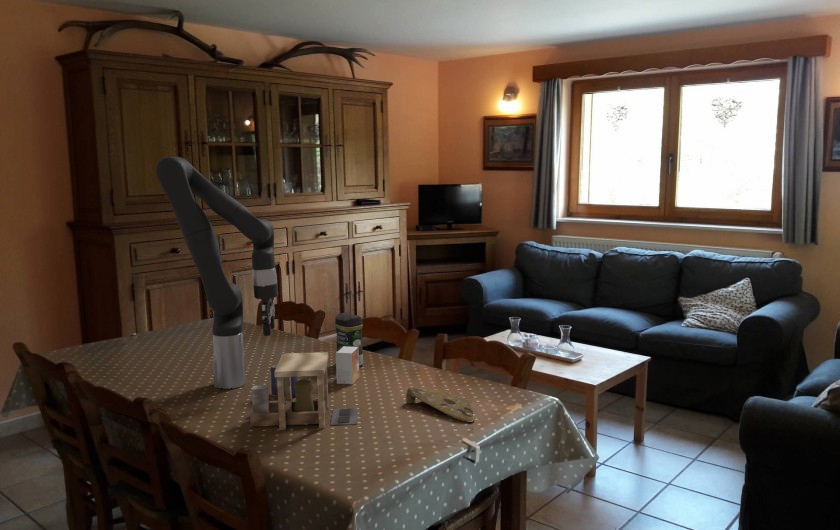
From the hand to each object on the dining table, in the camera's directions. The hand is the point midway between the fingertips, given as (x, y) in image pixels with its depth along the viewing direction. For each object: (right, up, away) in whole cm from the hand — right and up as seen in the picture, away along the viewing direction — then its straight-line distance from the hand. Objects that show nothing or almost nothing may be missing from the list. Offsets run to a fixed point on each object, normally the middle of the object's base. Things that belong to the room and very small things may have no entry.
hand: (269, 332), depth 214 cm
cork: (+16, -22, -27) cm, 38 cm away
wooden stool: (+20, -21, -27) cm, 40 cm away
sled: (+12, -21, -28) cm, 37 cm away
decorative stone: (+58, -20, -20) cm, 65 cm away
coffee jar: (+24, -14, +22) cm, 35 cm away
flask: (+7, -19, -8) cm, 22 cm away
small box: (+25, -17, +5) cm, 30 cm away
